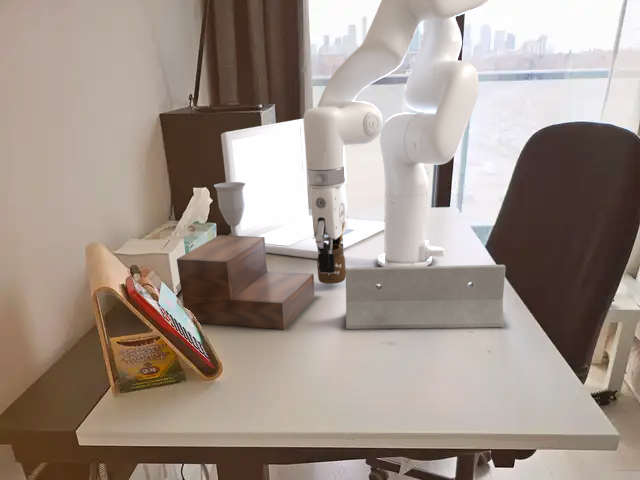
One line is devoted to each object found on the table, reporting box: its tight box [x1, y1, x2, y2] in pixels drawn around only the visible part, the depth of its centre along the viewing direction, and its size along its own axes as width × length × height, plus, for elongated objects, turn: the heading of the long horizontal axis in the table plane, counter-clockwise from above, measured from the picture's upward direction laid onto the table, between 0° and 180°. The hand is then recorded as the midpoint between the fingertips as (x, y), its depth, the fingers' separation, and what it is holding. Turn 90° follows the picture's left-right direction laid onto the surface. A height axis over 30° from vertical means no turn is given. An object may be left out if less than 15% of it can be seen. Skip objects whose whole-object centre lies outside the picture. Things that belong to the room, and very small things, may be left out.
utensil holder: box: [316, 222, 346, 285], centre depth 135 cm, size 6×6×12 cm
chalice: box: [213, 182, 245, 236], centre depth 154 cm, size 7×7×18 cm
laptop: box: [220, 118, 384, 260], centre depth 169 cm, size 34×28×28 cm
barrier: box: [345, 264, 507, 330], centre depth 116 cm, size 28×7×10 cm, turn 86°
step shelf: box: [176, 234, 316, 330], centre depth 125 cm, size 20×18×12 cm
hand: (331, 266), depth 137 cm, fingers closed on utensil holder, 6 cm apart
